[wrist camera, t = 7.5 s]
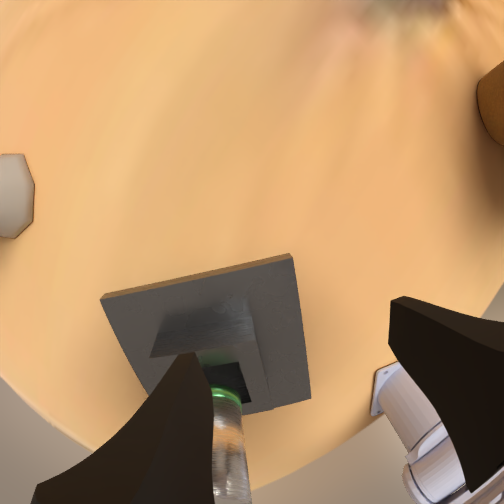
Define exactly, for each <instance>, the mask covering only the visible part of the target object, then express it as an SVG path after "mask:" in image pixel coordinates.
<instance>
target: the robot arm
mask: <svg viewBox="0 0 504 504" xmlns="http://www.w3.org/2000/svg"><path fill="white" fill-rule="evenodd" d="M388 344H389V346H390V348H391V349H392V351H393V353H394V355H395V356H396V358H397V360H398V362H396V363H394V364H391V365H389V366H386V367H384V368H382V369H379V370H378V371H377V372H376V377H375V385H374V393H373V400H372V406H371V412H370V414H371V416H376V415H378V414H380V413H383V412H384V413H385V414H386V416H387V417H388V419H389V421H390V422H391V424H392V426H393V427H394V429H395V431H396V432H397V434H398V436H399V437H400V439H401V441H402V443H403V444H404V446H405V448H406V449H407V451H408V453H409V454H407V455H406V456H405V457H406V459H407V461H408V464H406V465H405V466H404V470H403V474H402V478H403V482H404V485H405V488H406V490H407V492H408V493H409V495H410V496H411V498H412V499H413V500H414V502H415V503H416V504H504V322H498V321H492V320H486V319H481V318H477V317H473V316H469V315H465V314H462V313H458V312H455V311H452V310H449V309H445V308H442V307H439V306H436V305H433V304H430V303H427V302H424V301H421V300H418V299H414V298H411V297H406V296H402V297H399V298H397V299H394V300H391V303H390V325H389V339H388ZM213 429H214V408H213V396H212V390H211V388H210V386H209V384H208V381H207V379H206V377H205V375H204V372H203V370H202V368H201V365H200V363H199V360H198V358H197V356H196V353H195V352H191V353H185V354H179V355H178V356H177V357H176V359H175V360H174V362H173V363H172V364H171V366H170V367H169V369H168V370H167V372H166V373H165V375H164V376H163V378H162V379H161V380H160V382H159V383H158V385H157V386H156V387H155V389H154V390H153V392H152V393H151V394H150V396H149V397H148V398H147V399H146V401H145V402H144V403H143V404H142V406H141V407H140V408H139V409H138V411H137V412H136V413H135V414H134V415H133V417H132V418H131V419H130V420H129V421H128V422H127V423H126V424H125V425H124V426H123V427H122V428H121V429H120V430H119V431H118V432H117V433H116V434H115V435H114V436H113V437H112V438H111V439H110V440H108V441H107V442H106V443H105V444H104V445H102V446H101V447H100V448H99V449H98V450H96V451H95V452H94V453H93V454H91V455H90V456H89V457H87V458H86V459H84V460H83V461H81V462H80V463H78V464H77V465H75V466H73V467H72V468H70V469H69V470H67V471H65V472H63V473H61V474H59V475H57V476H55V477H53V478H51V479H49V480H47V481H44V482H42V483H40V484H37V487H36V489H35V492H34V495H33V498H32V501H31V504H215V500H214V491H213V481H212V451H213ZM465 483H466V485H464V484H465ZM463 485H464V486H463ZM461 486H463V487H462V488H460V487H461ZM458 488H460V489H459V490H458V491H456V490H457V489H458ZM454 491H456V492H455V493H453V492H454ZM452 493H453V494H452Z"/></svg>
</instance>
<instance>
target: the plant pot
mask: <svg viewBox="0 0 504 504" xmlns="http://www.w3.org/2000/svg"><path fill="white" fill-rule="evenodd" d="M477 98H478V105H479V110H480V114H481V117H482V120H483V123H484V125H485V127H486V129H487V131H488V133H489V134H490V136H491V137H492V138H493V139H494V140H495V141H496V142H497V143H499V144H501V145H503V146H504V61H503V62H501V63H500V64H499V65H497V66H496V67H495V68H494V69H493V70H491V71H490V72H489V73H488V74H487V75H485V76H484V77H483V78H482V79H481V80H480V82H479V84H478V89H477Z"/></svg>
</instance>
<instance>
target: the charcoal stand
mask: <svg viewBox="0 0 504 504" xmlns="http://www.w3.org/2000/svg"><path fill="white" fill-rule="evenodd" d="M100 302H101V304H102V307H103V309H104V311H105V313H106V316H107V318H108V320H109V322H110V324H111V327H112V329H113V331H114V333H115V335H116V337H117V339H118V341H119V343H120V345H121V347H122V349H123V351H124V353H125V355H126V357H127V359H128V360H129V362H130V364H131V366H132V368H133V370H134V371H135V373H136V375H137V377H138V378H139V380H140V382H141V384H142V385H143V387H144V389H145V390H146V392H147V394H148V395H149V396H150V394H151V393H152V392H153V390H154V389H155V387H156V386H157V385H158V383H159V382H160V380H161V379H162V378H163V376H164V375H165V373H166V372H167V370H168V369H169V367H170V366H171V364H172V363H173V362H174V360H175V359H176V357H177V356H178V355H179V354H185V353H191V352H195V353H196V356H197V358H198V360H199V363H200V365H201V368H202V370H203V372H204V375H205V377H206V379H207V381H208V384H221V385H225V386H228V387H231V388H233V389H234V390H235V391H237V392H238V394H239V395H240V398H241V405H242V415H248V414H253V413H258V412H263V411H268V410H272V409H274V408H276V407H280V406H284V405H288V404H292V403H296V402H300V401H304V400H308V399H311V390H310V380H309V372H308V363H307V355H306V346H305V338H304V331H303V323H302V316H301V309H300V302H299V295H298V288H297V281H296V275H295V268H294V262H293V257H292V256H291V255H290V253H288V254H283V255H279V256H275V257H270V258H266V259H262V260H257V261H253V262H248V263H244V264H239V265H235V266H230V267H226V268H221V269H217V270H213V271H208V272H203V273H199V274H194V275H190V276H185V277H181V278H176V279H172V280H167V281H162V282H158V283H153V284H149V285H144V286H139V287H135V288H130V289H125V290H120V291H116V292H111V293H106V294H104V295H103V296H102V297H101V299H100Z"/></svg>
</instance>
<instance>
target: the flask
mask: <svg viewBox="0 0 504 504" xmlns="http://www.w3.org/2000/svg"><path fill="white" fill-rule="evenodd" d="M33 195H34V182H33V180H32V177H31V174H30V172H29V169H28V166H27V163H26V160H25V157H24V154H2V155H0V236H2V237H9V238H15V237H16V236H17V235H18V234H19V233H21V232H22V231H23V230H24V229H25V228H26V227H27V226H28V225H29V224H30V223H31V222H32V221H33Z"/></svg>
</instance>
